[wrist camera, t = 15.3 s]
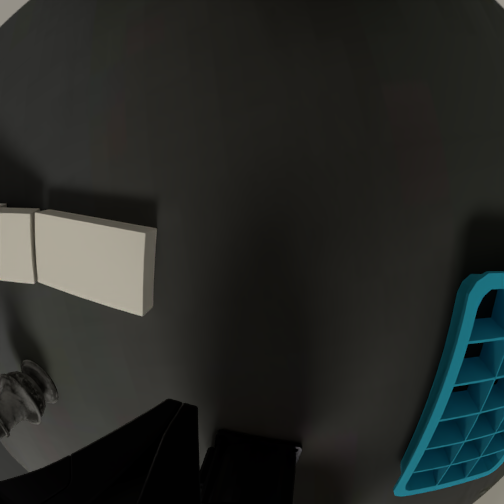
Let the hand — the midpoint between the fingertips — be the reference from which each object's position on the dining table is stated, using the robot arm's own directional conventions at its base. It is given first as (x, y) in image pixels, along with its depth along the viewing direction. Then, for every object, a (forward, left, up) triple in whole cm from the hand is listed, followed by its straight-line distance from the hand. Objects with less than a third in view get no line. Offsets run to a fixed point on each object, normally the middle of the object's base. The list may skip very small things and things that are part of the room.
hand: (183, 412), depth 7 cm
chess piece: (+19, +15, -11) cm, 27 cm away
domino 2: (+6, 0, -10) cm, 11 cm away
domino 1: (+15, 0, -9) cm, 18 cm away
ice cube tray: (-19, +6, -11) cm, 22 cm away
